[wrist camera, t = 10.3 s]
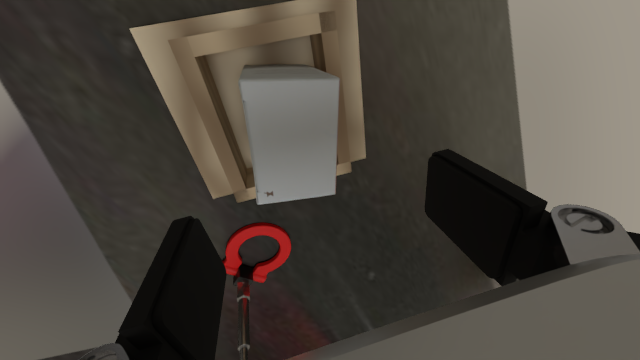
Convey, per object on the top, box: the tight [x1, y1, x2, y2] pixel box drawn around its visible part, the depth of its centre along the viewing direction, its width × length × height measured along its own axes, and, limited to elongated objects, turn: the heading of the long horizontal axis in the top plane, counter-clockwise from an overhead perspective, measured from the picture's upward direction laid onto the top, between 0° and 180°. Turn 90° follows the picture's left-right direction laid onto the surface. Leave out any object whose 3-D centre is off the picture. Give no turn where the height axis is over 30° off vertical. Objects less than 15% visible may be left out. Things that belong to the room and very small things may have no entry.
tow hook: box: [222, 223, 291, 360], centre depth 27 cm, size 8×13×9 cm
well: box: [130, 0, 366, 203], centre depth 22 cm, size 18×16×5 cm
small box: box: [238, 64, 340, 205], centre depth 19 cm, size 8×6×10 cm
